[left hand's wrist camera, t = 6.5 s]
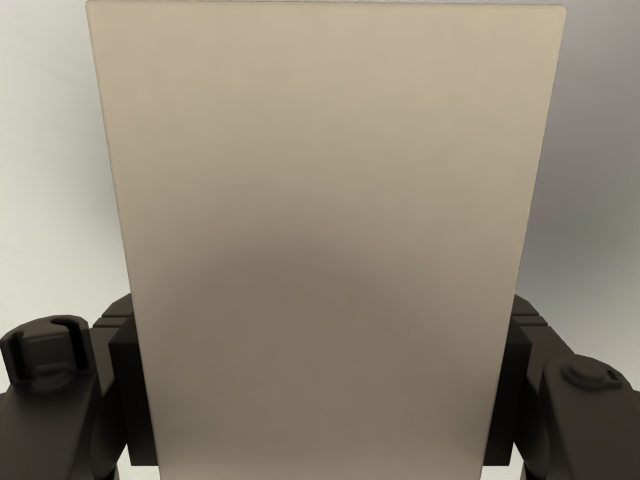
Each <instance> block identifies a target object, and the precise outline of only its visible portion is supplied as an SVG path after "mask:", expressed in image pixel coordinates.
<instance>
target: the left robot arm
mask: <svg viewBox="0 0 640 480" xmlns="http://www.w3.org/2000/svg"><path fill="white" fill-rule="evenodd" d="M0 349H1V353H2V356H3V359H4V363H5V366H6V370H7V373H8V377H9V380H10V386H9V388H8V390H7V392H5V393H1V394H0V480H120V479H119V472H118V467H117V461H118V459H119V457H120V455H121V454H122V452H123V450H124V448H125V446H126V444H127V446H128V452H129V457H130V462H131V466H158V460H157V453H156V447H155V441H154V435H153V428H152V422H151V416H150V409H149V403H148V397H147V390H146V384H145V378H144V372H143V365H142V359H141V353H140V346H139V340H138V334H137V327H136V321H135V315H134V309H133V302H132V296H131V293H129V294H127V295H126V296H124V297H122V298H121V299H119V300H117V301H115V302H114V303H112V304H111V305H110V306H109V307H108V309H107V310H106V311H105V312H104V313H103V314H102V317H101V318H99V319H98V320H97V321H96V322H95V323H94V324H93V328H90V329H89V326H88V322H87V321H86V320H84V319H83V318H81V317H78V316H73V315H54V316H49V317H44V318H39V319H36V320H33V321H30V322H27V323H25V324H22V325H20V326H18V327H16V328H15V329H13V330H11V331H9V332H8V333H6V334H5V335H4V336H3V337H2V338H1V339H0ZM513 443H515V445H516V447H517V449H518V451H519V452H520V454H521V456H522V458H523V460H524V462H523V467H522V472H521V477H520V480H640V392H639V391H635V390H633V389H632V387H631V385H630V383H629V382H628V381H627V380H626V378H625V377H624V376H623V375H622V374H621V373H620V372H618V371H617V370H615V369H614V368H612V367H611V366H609V365H608V364H605V363H603V362H601V361H598V360H596V359H594V358H590V357H586V356H582V355H578V354H575V353H574V352H573V351H572V350H571V349H570V348H569V347H568V346H567V344H566V343H565V342H564V341H563V340H562V339H561V338H560V337H559V336H558V334H557V333H556V332H555V331H554V330H553V329H552V328H551V327H550V326H548V323H547V322H546V321H545V320H544V319H543V318H542V316H539V313H538V312H537V311H536V310H535V309H534V308H533V306H532V305H531V304H530V303H529V302H528V301H526V300H524V299H523V298H521V297H519V296H517V295H516V294H514V300H513V305H512V311H511V316H510V321H509V327H508V332H507V338H506V343H505V348H504V354H503V359H502V364H501V370H500V375H499V381H498V386H497V391H496V397H495V402H494V408H493V413H492V418H491V424H490V429H489V435H488V440H487V445H486V451H485V456H484V462H483V466H509V464H510V458H511V453H512V448H513Z"/></svg>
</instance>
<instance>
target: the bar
mask: <svg viewBox="0 0 640 480" xmlns="http://www.w3.org/2000/svg"><path fill="white" fill-rule="evenodd" d="M86 12H87V19H88V25H89V31H90V38H91V44H92V50H93V57H94V63H95V69H96V75H97V82H98V88H99V94H100V101H101V107H102V113H103V120H104V126H105V132H106V138H107V145H108V151H109V157H110V164H111V170H112V176H113V183H114V189H115V195H116V201H117V208H118V214H119V220H120V227H121V233H122V239H123V246H124V252H125V258H126V264H127V271H128V277H129V283H130V290H131V296H132V302H133V309H134V315H135V321H136V327H137V334H138V340H139V346H140V353H141V359H142V365H143V372H144V378H145V384H146V390H147V397H148V403H149V409H150V416H151V422H152V428H153V435H154V441H155V447H156V453H157V460H158V466H159V472H160V479H161V480H480V478H481V472H482V467H483V462H484V456H485V451H486V445H487V440H488V435H489V429H490V424H491V418H492V413H493V408H494V402H495V397H496V391H497V386H498V381H499V375H500V370H501V364H502V359H503V354H504V348H505V343H506V338H507V332H508V327H509V321H510V316H511V311H512V305H513V300H514V294H515V289H516V284H517V278H518V273H519V267H520V262H521V257H522V251H523V246H524V240H525V235H526V230H527V224H528V219H529V213H530V208H531V203H532V197H533V192H534V187H535V181H536V176H537V170H538V165H539V160H540V154H541V149H542V143H543V138H544V133H545V127H546V122H547V116H548V111H549V106H550V100H551V95H552V89H553V84H554V79H555V73H556V68H557V62H558V57H559V52H560V46H561V41H562V35H563V30H564V25H565V19H566V14H567V8H566V7H565V6H563V5H559V4H473V3H387V2H301V1H215V0H89V1H87V2H86Z"/></svg>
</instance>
